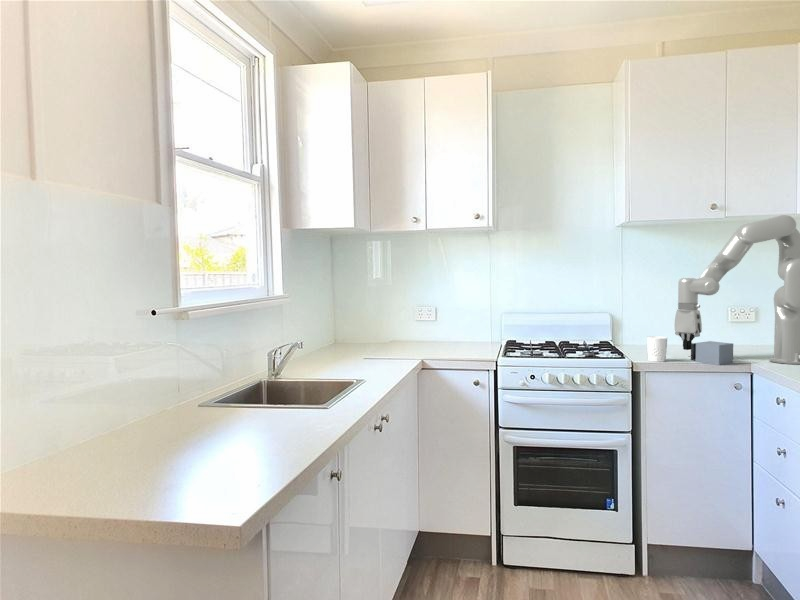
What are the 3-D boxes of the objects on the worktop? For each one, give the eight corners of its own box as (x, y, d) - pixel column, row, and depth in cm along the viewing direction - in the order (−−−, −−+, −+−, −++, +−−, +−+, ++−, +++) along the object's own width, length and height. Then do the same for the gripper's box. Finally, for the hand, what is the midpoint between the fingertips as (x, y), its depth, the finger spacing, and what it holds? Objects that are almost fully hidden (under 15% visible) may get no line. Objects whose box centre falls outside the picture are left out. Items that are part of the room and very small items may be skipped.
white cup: (655, 362, 244) (655, 338, 243) (642, 359, 251) (642, 336, 251) (671, 361, 246) (671, 337, 246) (658, 359, 254) (658, 335, 253)
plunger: (729, 360, 245) (730, 344, 244) (714, 363, 239) (714, 346, 239) (706, 357, 254) (706, 341, 253) (690, 360, 248) (691, 343, 248)
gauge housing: (738, 362, 243) (738, 342, 243) (718, 365, 236) (719, 345, 236) (690, 356, 261) (691, 338, 261) (671, 358, 254) (671, 340, 253)
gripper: (709, 307, 248) (709, 350, 248) (677, 305, 260) (676, 347, 261) (699, 308, 244) (698, 352, 245) (666, 306, 256) (666, 348, 257)
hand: (687, 349), depth 253 cm, fingers closed
